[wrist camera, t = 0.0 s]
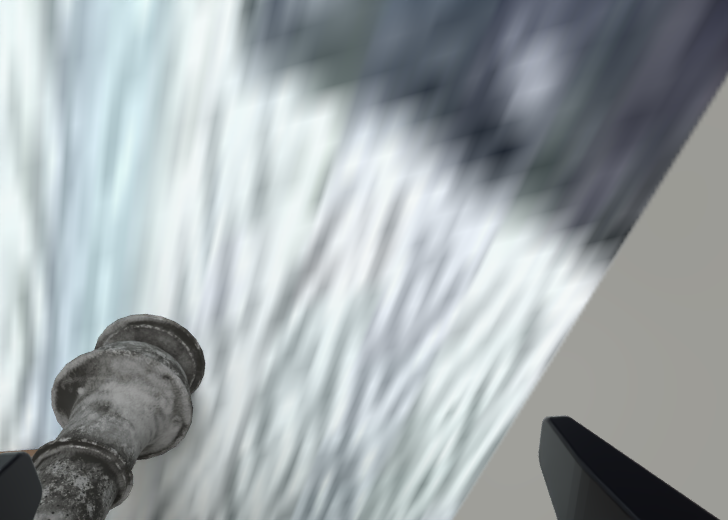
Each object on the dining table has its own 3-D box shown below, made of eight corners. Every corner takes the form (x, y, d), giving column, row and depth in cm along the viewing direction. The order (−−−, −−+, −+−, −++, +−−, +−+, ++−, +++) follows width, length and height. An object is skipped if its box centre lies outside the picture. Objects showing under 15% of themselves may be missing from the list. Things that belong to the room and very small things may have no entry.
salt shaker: (226, 397, 26) (142, 654, 15) (116, 418, 26) (-46, 686, 15) (189, 298, 24) (59, 514, 13) (69, 321, 24) (-162, 554, 13)
